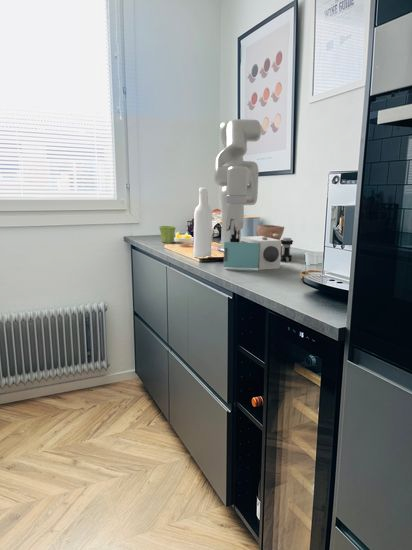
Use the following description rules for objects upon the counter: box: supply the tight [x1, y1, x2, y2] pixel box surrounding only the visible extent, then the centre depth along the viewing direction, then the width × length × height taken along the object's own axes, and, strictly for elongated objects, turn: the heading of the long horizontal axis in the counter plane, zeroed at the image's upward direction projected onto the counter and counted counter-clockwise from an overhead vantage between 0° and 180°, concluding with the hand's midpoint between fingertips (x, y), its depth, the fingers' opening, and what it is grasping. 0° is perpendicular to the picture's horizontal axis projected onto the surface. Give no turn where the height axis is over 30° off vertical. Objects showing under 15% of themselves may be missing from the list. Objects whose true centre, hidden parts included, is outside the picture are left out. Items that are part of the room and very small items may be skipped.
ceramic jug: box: [256, 224, 285, 255], centre depth 185 cm, size 18×14×14 cm
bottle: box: [192, 187, 213, 257], centre depth 179 cm, size 8×8×30 cm
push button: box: [280, 237, 294, 263], centre depth 175 cm, size 7×5×10 cm
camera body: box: [240, 235, 282, 271], centre depth 163 cm, size 16×10×12 cm, turn 26°
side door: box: [223, 242, 261, 269], centre depth 155 cm, size 14×1×10 cm, turn 84°
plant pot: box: [158, 225, 177, 244], centre depth 225 cm, size 9×9×9 cm
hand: (234, 248), depth 158 cm, fingers closed
